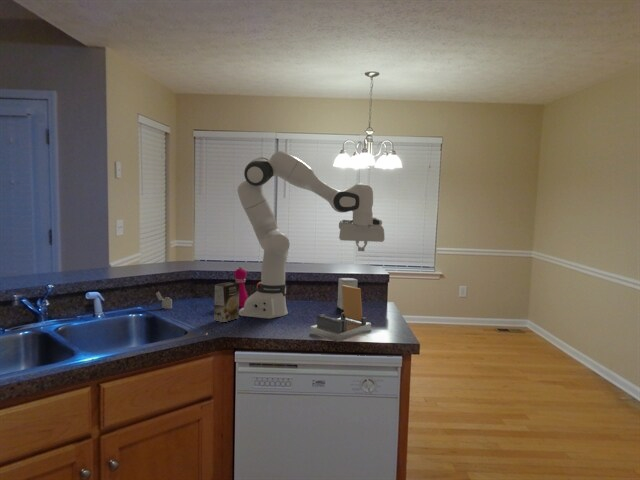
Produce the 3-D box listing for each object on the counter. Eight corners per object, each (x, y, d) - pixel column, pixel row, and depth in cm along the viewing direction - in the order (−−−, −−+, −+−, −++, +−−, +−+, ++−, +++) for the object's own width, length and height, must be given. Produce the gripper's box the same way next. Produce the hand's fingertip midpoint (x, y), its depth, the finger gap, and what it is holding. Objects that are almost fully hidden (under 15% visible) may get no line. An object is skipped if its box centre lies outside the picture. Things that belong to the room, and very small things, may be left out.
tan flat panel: (344, 318, 188) (345, 317, 188) (361, 322, 182) (363, 321, 182) (341, 285, 184) (343, 284, 185) (359, 289, 178) (360, 288, 179)
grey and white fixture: (344, 323, 192) (345, 307, 191) (370, 330, 183) (371, 313, 182) (310, 333, 176) (310, 316, 175) (337, 342, 166) (338, 323, 166)
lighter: (172, 308, 209) (171, 291, 208) (171, 308, 207) (171, 292, 206) (156, 307, 208) (156, 291, 207) (155, 308, 206) (155, 292, 206)
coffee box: (224, 323, 186) (225, 286, 184) (213, 321, 189) (214, 284, 187) (239, 319, 194) (239, 283, 192) (228, 316, 197) (228, 281, 195)
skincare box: (341, 310, 215) (342, 280, 213) (336, 307, 220) (337, 277, 219) (357, 308, 218) (358, 279, 216) (351, 306, 223) (352, 277, 222)
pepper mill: (235, 308, 212) (235, 267, 210) (230, 304, 219) (231, 265, 217) (249, 306, 216) (250, 266, 214) (244, 303, 222) (245, 264, 220)
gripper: (339, 219, 193) (337, 251, 194) (385, 221, 192) (384, 252, 193) (339, 219, 199) (338, 249, 200) (384, 220, 198) (382, 251, 200)
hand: (361, 251), depth 197 cm, fingers closed
